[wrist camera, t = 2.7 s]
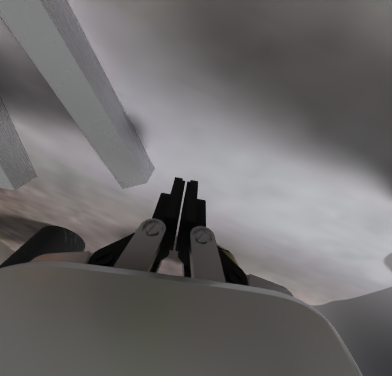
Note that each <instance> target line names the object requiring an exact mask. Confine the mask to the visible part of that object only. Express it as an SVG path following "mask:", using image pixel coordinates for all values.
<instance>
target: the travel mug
mask: <svg viewBox="0 0 392 376" xmlns="http://www.w3.org/2000/svg"><path fill="white" fill-rule="evenodd" d="M84 248H85V243H84V241H83V240H82V239H81V238H80V237H79V236H78V235H77V234H75V233H73V232H72V231H70V230H67V229H65V228H61V227H57V226H47V227H44V228H42V229H41V230H40V231H38V232H37V233H36V234H35V235H34V236H33V237H32V238H30V239H29V240H28V241H27V242H26V243H25V244H24V245H23V246H21V247H20V248H19V249H18V250H17V251H16V252H15V253H14V254H12V255H11V256H10V257H9V258H8V259H7V260H6V261H5V262H4V263H2V264H1V265H0V268H3V267H7V266H11V265H16V264H22V263H28V262H30V261H31V260H33V259H34V258H36V257H38V256H40V255H44V254H51V253H67V252H83V250H84Z"/></svg>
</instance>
